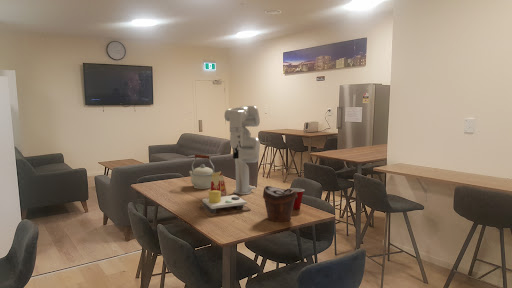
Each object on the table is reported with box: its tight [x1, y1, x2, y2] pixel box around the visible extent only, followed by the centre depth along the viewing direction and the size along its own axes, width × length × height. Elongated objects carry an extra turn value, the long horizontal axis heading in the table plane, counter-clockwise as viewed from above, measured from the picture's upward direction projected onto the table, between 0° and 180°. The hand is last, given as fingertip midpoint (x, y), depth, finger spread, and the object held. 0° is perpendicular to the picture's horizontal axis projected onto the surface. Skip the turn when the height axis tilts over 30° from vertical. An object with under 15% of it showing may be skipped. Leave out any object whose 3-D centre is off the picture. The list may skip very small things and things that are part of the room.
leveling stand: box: [198, 201, 251, 217], centre depth 219 cm, size 26×20×4 cm
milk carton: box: [210, 170, 228, 197], centre depth 238 cm, size 9×9×20 cm
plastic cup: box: [287, 187, 305, 210], centre depth 221 cm, size 11×11×12 cm
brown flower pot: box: [262, 185, 298, 223], centre depth 201 cm, size 18×20×18 cm
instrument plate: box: [201, 190, 248, 209], centre depth 219 cm, size 22×18×8 cm
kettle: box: [188, 154, 215, 190], centre depth 277 cm, size 25×18×25 cm
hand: (235, 158), depth 230 cm, fingers closed
